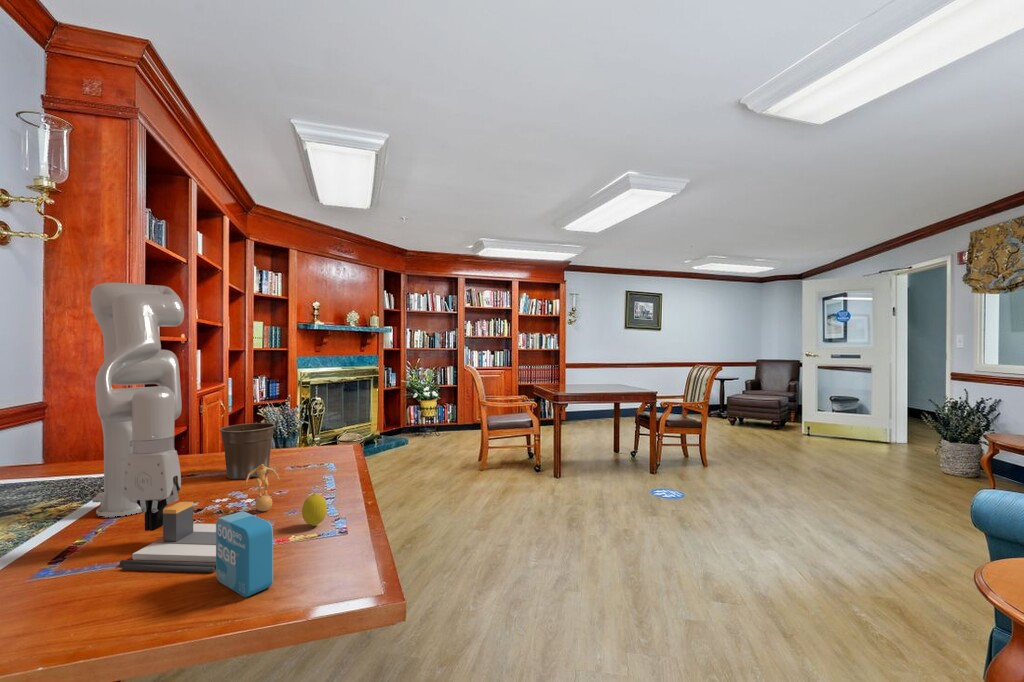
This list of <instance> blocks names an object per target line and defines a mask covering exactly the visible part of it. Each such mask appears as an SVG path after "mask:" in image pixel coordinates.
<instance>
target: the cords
mask: <svg viewBox="0 0 1024 682" xmlns="http://www.w3.org/2000/svg"><path fill="white" fill-rule="evenodd" d="M119 566H120V567H121V570H123V571H145V572H146V571H148V572H149V571H150V572H151V571H153V572H181V573H207V574H208V573H209V574H213V573H214V572H216V562H196V561H163V560H133V559H131V560H127V559H121V560H120V562H119Z"/></svg>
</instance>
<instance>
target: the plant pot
mask: <svg viewBox="0 0 1024 682" xmlns="http://www.w3.org/2000/svg"><path fill="white" fill-rule="evenodd" d="M275 428H276V424H274V423H272V422H271V423H270V422H257V423H256V422H254V423H252V422H251V423H239V424H234V425H233V424H232V425H227V426H224V427H221V428H219V432H220V433H221V440H222V441H221V442H223V449H224V459H225V460H224V461H225V470H226V478H228V479H229V480H237V481H240V480H246V479H247V476H248V474H249V473H250V472H251V471H253V470H254V469H256V468H257V467H258V466H260V465H261V464H264V466H265V467H268V468H270V459H271V451H272V442H273V441H272V440H273V439H272V438H273V437H274V429H275ZM269 472H270V471H269V470H266V473H265V474H266V475H267V474H268V473H269ZM252 477H253V478H259V476H258V474H257V472H254V473H253V474H251V475H250V476H249V479H251V478H252Z"/></svg>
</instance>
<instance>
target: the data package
mask: <svg viewBox="0 0 1024 682" xmlns="http://www.w3.org/2000/svg"><path fill="white" fill-rule="evenodd" d="M215 524H216V562H215V563H216V569H215V573H216V574H215V575H216V579H217V580H218V582H219V583H220V584H222V585H224V586H225V587H227V588H228V589H231V590H232V591H234V592H236V593H237V594H238V595H240V596H241V597H243V598H248V597H250V596H252V595H254V594H257V593H259V592H261V591H265V590H266V589H268V588H270V587H272V585H273V583H274V530H273V529H274V528H273V525H272V523H271V522H270V521H268V520H266V519H263V518H261V517H258V516H256V515H253V514H251V513H249V512H246V511H244V510H242V511H238V512H235V513H231V514H228V515H224V516H221V517H218V519H217V520H216V523H215Z"/></svg>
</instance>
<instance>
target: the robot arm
mask: <svg viewBox="0 0 1024 682" xmlns="http://www.w3.org/2000/svg"><path fill="white" fill-rule="evenodd" d="M90 306H91V310H92V313H93V316H94V318H95V320H96V322H97V324H98V326H99V329H100V331H101V333H102V337H103V338H102V339H103V356H104V357H103V359H104V362H103V363H102V364H101V365H100V367H99V369H98V371H97V374H96V377H95V382H94V383H95V384H94V386H95V387H94V388H95V399H96V400H95V403H96V409H97V411H96V412H97V415H98V416H99V419H100V422H101V426H102V435H103V492H98V493H97V494H96V496H93V498H92V499H91V501H92V503H100V504H99V507H98V508H96V511H95V514H97V515H98V517H99V516H105V517H104V518H108V517H109V518H118V517H117V516H121V517H125V515H127V516H132V515H136V513H137V514H139V513H144V531H145V532H149V531H150V532H154V531H157V529H160V528H163V509H166V508H167V506H168V505H169V504H173V503H174V504H175V502H176V503H177V502H178V501H179V500H180V498H179V497H180V496H179V493H180V492H181V489H182V475H181V474H182V473H181V464H180V459H179V455H178V451H177V450H176V449H175V435H176V434H175V429H176V428H175V421H176V420H177V419H178V418H179V417H180V416H181V414H182V405H183V404H182V391H181V390H182V389H181V388H182V387H181V376H180V373H181V372H180V365H179V359H178V357H177V355H176V354H175V353H174V352H173V351H171V350H170V349H169V350H168V349H162V344H161V338H160V332H159V328H160V327H168V328H169V327H179V326H180V325H182V323H183V322H184V318H185V308H184V304H183V301H182V300H181V298H180V296H179V295H178V294H177V293H176V292H175V291H174V290H173V289H172V288H171V287H169V286H166V285H155V284H154V285H153V284H144V283H143V284H141V283H131V282H127V283H126V282H105V283H104V282H103V283H99V284H96V285H94V287H93V286H92V288H91V290H90ZM112 385H115V386H138V385H139V386H138V387H122V388H113V386H112ZM140 385H157V386H145V387H144V386H140ZM131 514H132V515H131ZM97 515H96V516H97ZM115 516H116V517H115Z"/></svg>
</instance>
